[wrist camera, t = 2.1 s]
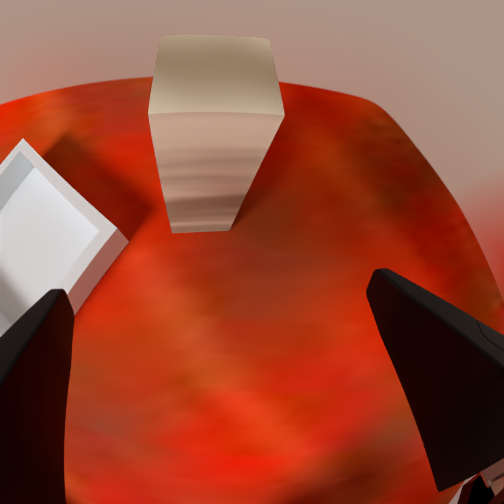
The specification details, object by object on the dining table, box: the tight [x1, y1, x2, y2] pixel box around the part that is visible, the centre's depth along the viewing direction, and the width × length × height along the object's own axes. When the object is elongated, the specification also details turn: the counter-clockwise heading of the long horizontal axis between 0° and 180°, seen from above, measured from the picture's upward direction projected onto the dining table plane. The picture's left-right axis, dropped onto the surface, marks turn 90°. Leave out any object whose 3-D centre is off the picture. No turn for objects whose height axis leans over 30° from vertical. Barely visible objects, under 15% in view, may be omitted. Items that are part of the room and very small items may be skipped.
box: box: [0, 139, 129, 337], centre depth 15 cm, size 12×12×4 cm
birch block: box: [148, 35, 285, 233], centre depth 14 cm, size 4×4×13 cm
